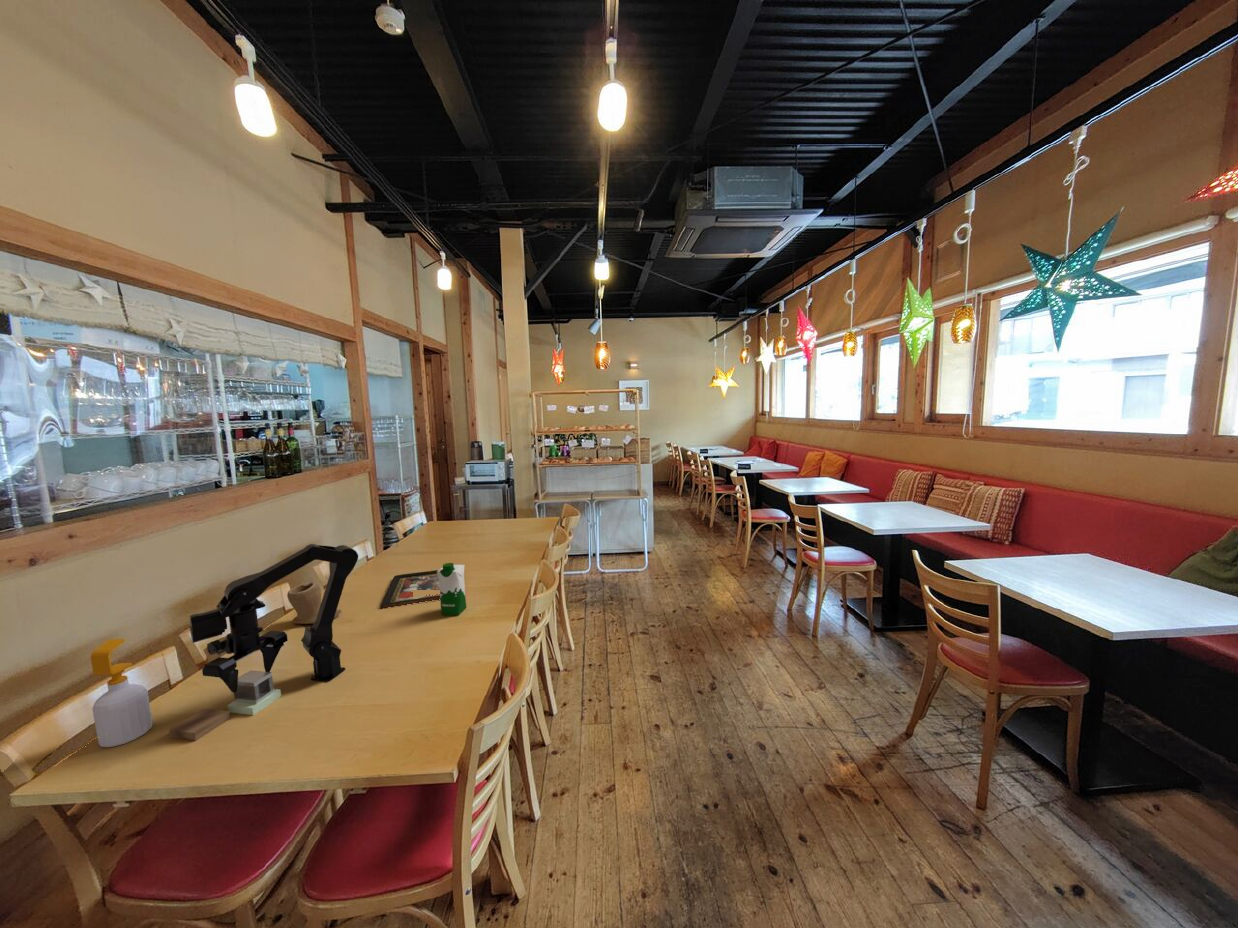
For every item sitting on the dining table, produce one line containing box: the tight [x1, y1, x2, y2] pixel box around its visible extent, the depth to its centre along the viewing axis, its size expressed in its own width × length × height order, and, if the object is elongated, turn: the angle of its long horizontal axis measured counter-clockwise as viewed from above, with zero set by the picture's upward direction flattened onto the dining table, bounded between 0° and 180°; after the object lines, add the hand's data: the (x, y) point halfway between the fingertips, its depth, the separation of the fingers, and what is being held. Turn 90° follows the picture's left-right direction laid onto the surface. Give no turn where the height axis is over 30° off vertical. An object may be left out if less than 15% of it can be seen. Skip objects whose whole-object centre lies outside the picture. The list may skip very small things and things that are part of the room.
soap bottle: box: [90, 638, 153, 748], centre depth 110 cm, size 9×9×25 cm
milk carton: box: [437, 562, 467, 617], centre depth 175 cm, size 9×9×20 cm
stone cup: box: [286, 581, 343, 625], centre depth 170 cm, size 15×12×15 cm
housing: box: [233, 669, 275, 704], centre depth 121 cm, size 7×5×6 cm
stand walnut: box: [168, 708, 231, 742], centre depth 113 cm, size 8×8×2 cm
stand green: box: [227, 688, 282, 716], centre depth 122 cm, size 8×8×2 cm
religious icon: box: [380, 569, 440, 610], centre depth 201 cm, size 38×35×3 cm
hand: (251, 681), depth 121 cm, fingers open, 9 cm apart
